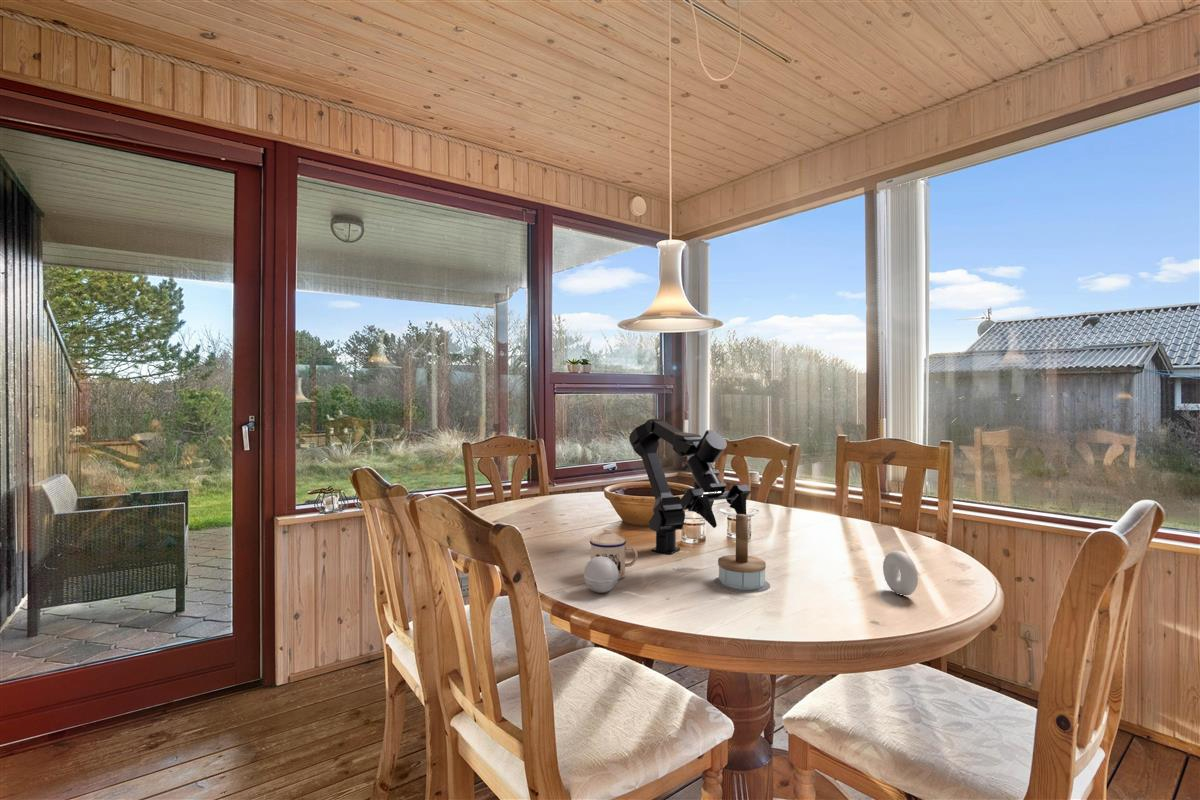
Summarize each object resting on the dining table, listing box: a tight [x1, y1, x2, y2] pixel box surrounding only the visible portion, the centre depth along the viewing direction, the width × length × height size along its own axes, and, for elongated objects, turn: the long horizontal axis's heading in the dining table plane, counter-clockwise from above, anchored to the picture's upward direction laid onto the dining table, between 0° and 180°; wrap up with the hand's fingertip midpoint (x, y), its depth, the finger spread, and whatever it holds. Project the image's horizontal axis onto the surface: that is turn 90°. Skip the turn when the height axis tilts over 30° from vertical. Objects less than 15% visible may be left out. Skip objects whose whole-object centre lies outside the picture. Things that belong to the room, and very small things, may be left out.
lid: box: [717, 513, 767, 573], centre depth 135 cm, size 11×11×12 cm
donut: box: [882, 549, 919, 596], centre depth 128 cm, size 10×4×10 cm, turn 6°
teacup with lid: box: [589, 527, 639, 580], centre depth 141 cm, size 12×9×12 cm
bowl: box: [718, 565, 766, 590], centre depth 135 cm, size 10×10×4 cm
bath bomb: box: [583, 556, 619, 594], centre depth 130 cm, size 8×8×8 cm
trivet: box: [713, 576, 771, 594], centre depth 135 cm, size 13×13×1 cm
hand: (730, 525), depth 138 cm, fingers open, 9 cm apart
